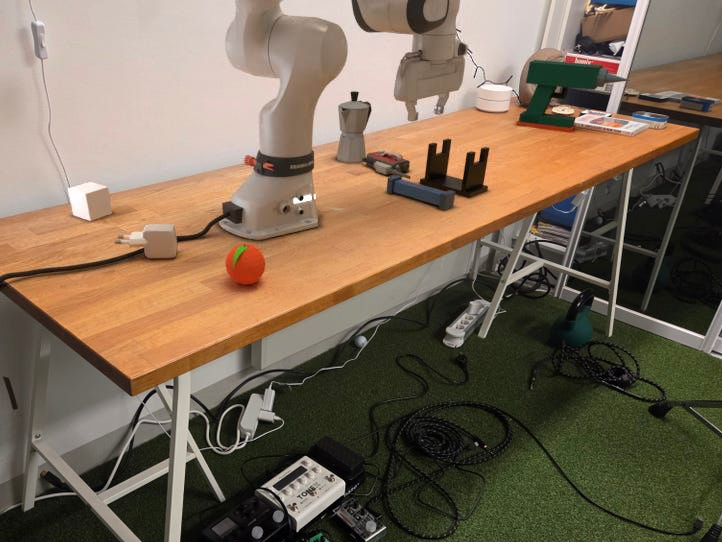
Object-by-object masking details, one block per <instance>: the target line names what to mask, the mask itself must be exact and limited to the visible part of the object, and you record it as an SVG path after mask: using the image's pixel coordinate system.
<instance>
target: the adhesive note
mask: <svg viewBox="0 0 722 542" xmlns="http://www.w3.org/2000/svg"><path fill="white" fill-rule="evenodd" d="M67 191H68V196H69V202H70V206H71V210H72V215H73V216H74V217H78V218H80V219H83V220H86V221H90V222H92V221H95V220H98V219H101V218H104V217H106V216H109V215H112V214H113V208H112V207H113V206H112V202H111V196H110V190H109V187H108V186H107V185H104V184H99V183H96V182H92V181H88V182H85V183H81V184H79V185H75V186H72V187H69V188H67Z"/></svg>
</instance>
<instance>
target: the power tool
mask: <svg viewBox="0 0 722 542" xmlns="http://www.w3.org/2000/svg"><path fill="white" fill-rule="evenodd" d="M603 67H604V66H603V64H592V63H579V62H566V61H556V60H555V61H554V60H545V59H544V60H541V59H534V60H530V62H529V64H528V69H527V73H526V74H527V75H526V79H525V84H529V85H536V87H535V89H534V92H533V94H532V96H531V98H530V99H529V100H530V101H529V103H528V105H527V106H526V109H525V110H524V111H522V112H521V113H519V117H518V120H517V121H516V123H515V126H519V127H527V128H528V127H529V128H537V129H544V130H551V131H558V132H566V133H572V132H573V131H574V130H575V129H576V126H577V125H576V124H575V122H576V119H577V117H576V116H572V115H571V116H570V115H563V114H555V113H554V114H553V113H547V110H548V108H549V105H550V103H551V101H552V99H557V100H558V99H559V100H560V99H561V100H564V99H566V98H567V96H568V93H569V89H570V88H571V89H579V90H592V91H594V90H595V89H597V88H604V87H605V85H606V84H614V83H620V82H621V83H623V82H630V81H632V80H631V79H628V78H626V77H625V78H624V77H622V76H619V75H617V74H612V73H609V68H603ZM558 87H559V88H562V89H561V92H556V90H557V88H558Z"/></svg>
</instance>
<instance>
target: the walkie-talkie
mask: <svg viewBox="0 0 722 542" xmlns="http://www.w3.org/2000/svg"><path fill="white" fill-rule="evenodd" d="M362 161H363V162H362V163H365V165H366V167H369V168H372V169H375V172H378V173H380V174H383V175H386V176H387V175H391V176H392V175H393V176H396V175H398V176H402V178H405V179H408V180H411V175H409V174H406V172H409V171H410V167H411V166H410V165H411V161H410V160H408V159H406V158H404V157H403V155H402V154H401V153H397V152H394V151H388V152H387V151H386V150H379V151H378V150H377V151H374V152H369V153H366V158H363V159H362Z"/></svg>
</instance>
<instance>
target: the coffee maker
mask: <svg viewBox="0 0 722 542" xmlns="http://www.w3.org/2000/svg"><path fill="white" fill-rule="evenodd" d="M359 94H360V92H359V91H355V90H353V91H350V100H349V101H346V102H342V103H340V104H338V106H337V111H338V121H339V131H341V133H340V136H339V142H338V147H337V152H336V160H337V161H338V162H341V163H345V164H361V163H364V162H363V161H362V159H363V158H367V153H366V143H365V142H366V141H365V135H364V131H365V130H366V128H367V125H368V122H369V120H370V116H371V113H372V111H373V109H372V105H371V102H369V101H362V100H358V98H359Z"/></svg>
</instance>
